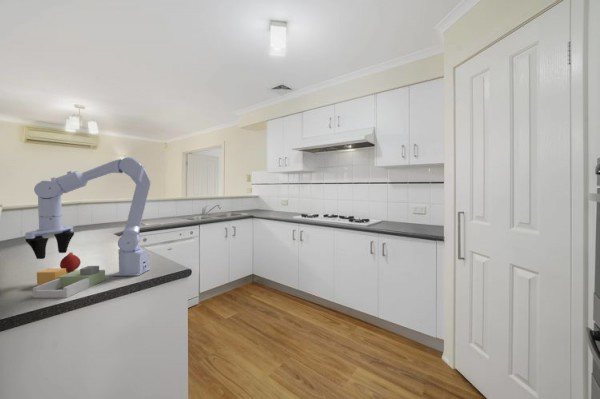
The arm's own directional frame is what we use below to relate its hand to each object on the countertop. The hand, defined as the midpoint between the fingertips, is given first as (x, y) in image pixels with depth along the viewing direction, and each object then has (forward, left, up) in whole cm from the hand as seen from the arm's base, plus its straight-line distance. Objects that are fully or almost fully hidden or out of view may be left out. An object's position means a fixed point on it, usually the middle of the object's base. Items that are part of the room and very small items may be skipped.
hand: (52, 255), depth 87 cm
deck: (-11, +5, -10) cm, 15 cm away
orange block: (-1, +2, -10) cm, 10 cm away
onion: (+3, -10, -10) cm, 14 cm away
